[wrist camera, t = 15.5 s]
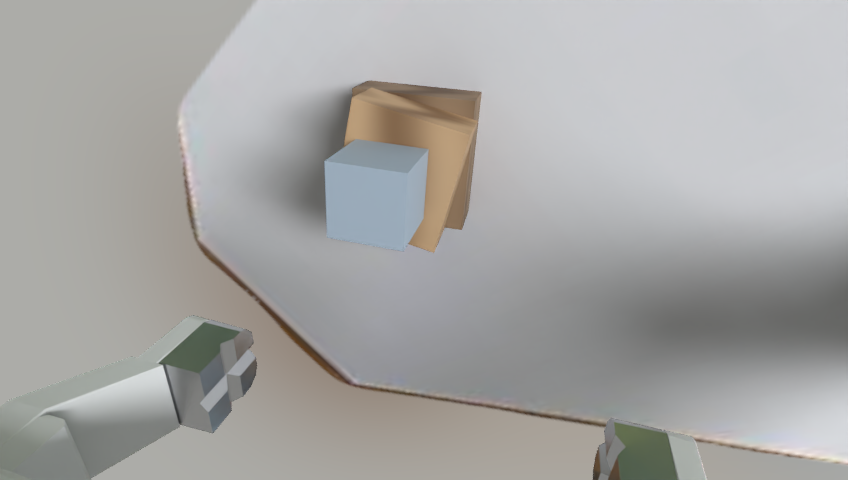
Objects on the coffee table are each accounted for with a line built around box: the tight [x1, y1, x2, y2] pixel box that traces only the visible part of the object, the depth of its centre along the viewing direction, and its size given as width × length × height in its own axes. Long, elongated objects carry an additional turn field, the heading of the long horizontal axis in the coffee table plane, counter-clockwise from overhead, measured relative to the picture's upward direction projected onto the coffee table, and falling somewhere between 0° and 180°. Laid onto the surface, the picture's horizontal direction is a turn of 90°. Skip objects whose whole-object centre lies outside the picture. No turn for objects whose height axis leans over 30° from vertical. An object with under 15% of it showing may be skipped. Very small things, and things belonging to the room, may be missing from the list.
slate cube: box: [324, 139, 429, 252], centre depth 30 cm, size 5×5×5 cm
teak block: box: [343, 88, 478, 253], centre depth 34 cm, size 8×9×4 cm
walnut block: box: [352, 81, 481, 230], centre depth 37 cm, size 9×10×4 cm
